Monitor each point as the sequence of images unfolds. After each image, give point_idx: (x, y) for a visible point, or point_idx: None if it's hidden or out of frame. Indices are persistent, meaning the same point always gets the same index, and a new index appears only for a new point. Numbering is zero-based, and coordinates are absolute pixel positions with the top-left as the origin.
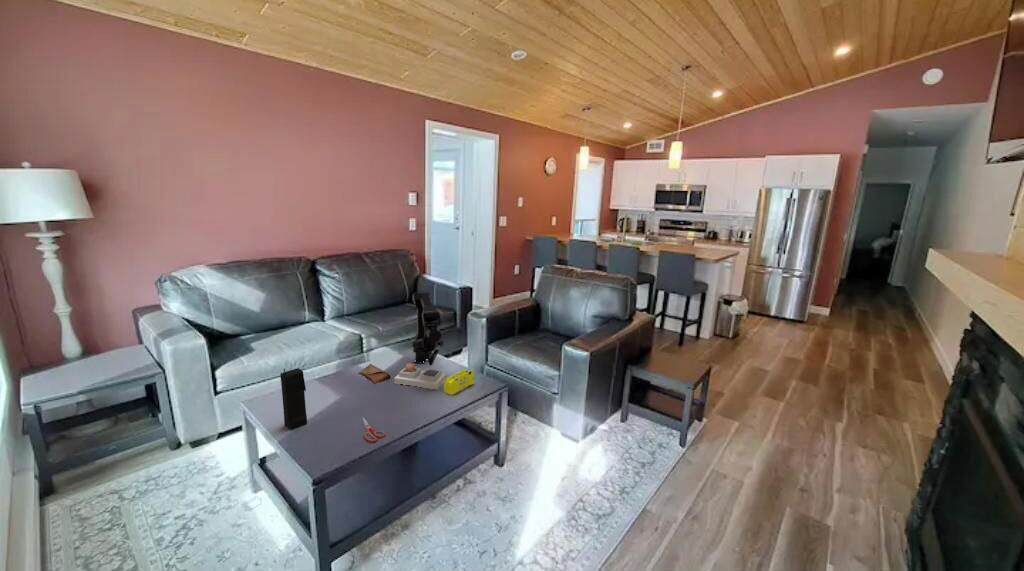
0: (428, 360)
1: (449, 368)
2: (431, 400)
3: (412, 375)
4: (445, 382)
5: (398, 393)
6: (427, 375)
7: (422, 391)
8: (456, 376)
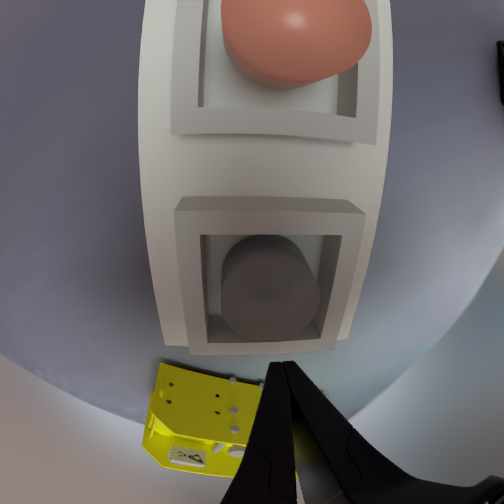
0: (250, 435)
1: (462, 268)
2: (68, 325)
3: (172, 113)
4: (155, 414)
5: (39, 108)
6: (225, 273)
7: (116, 244)
8: None
